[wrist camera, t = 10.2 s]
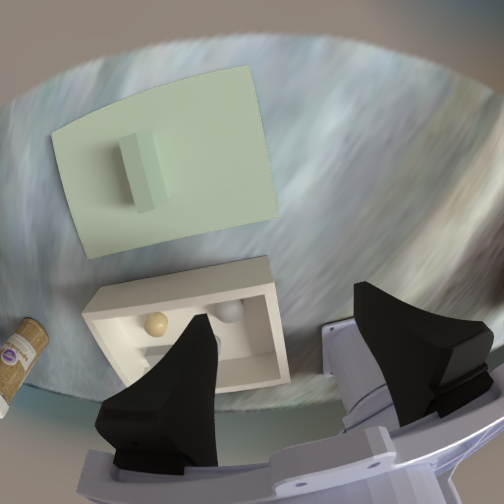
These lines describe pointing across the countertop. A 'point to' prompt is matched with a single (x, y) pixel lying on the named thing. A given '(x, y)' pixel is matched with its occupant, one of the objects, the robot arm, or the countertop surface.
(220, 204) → the lid
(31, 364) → the sprinkles bottle
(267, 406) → the countertop surface
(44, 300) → the countertop surface
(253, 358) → the tub
